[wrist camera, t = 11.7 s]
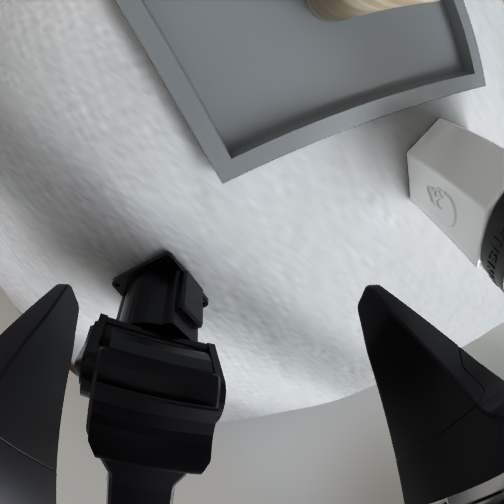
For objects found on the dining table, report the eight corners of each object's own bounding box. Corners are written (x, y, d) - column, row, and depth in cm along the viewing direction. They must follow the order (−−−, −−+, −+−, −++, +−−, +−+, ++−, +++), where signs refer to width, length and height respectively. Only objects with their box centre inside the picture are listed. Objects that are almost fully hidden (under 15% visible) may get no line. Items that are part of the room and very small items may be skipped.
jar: (399, 126, 18) (522, 200, 9) (469, 111, 17) (578, 169, 8) (407, 221, 23) (487, 318, 14) (469, 197, 22) (549, 272, 13)
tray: (221, 172, 19) (222, 183, 18) (110, -20, 10) (99, -27, 8) (469, 81, 16) (485, 85, 14) (400, -87, 6) (413, -93, 5)
